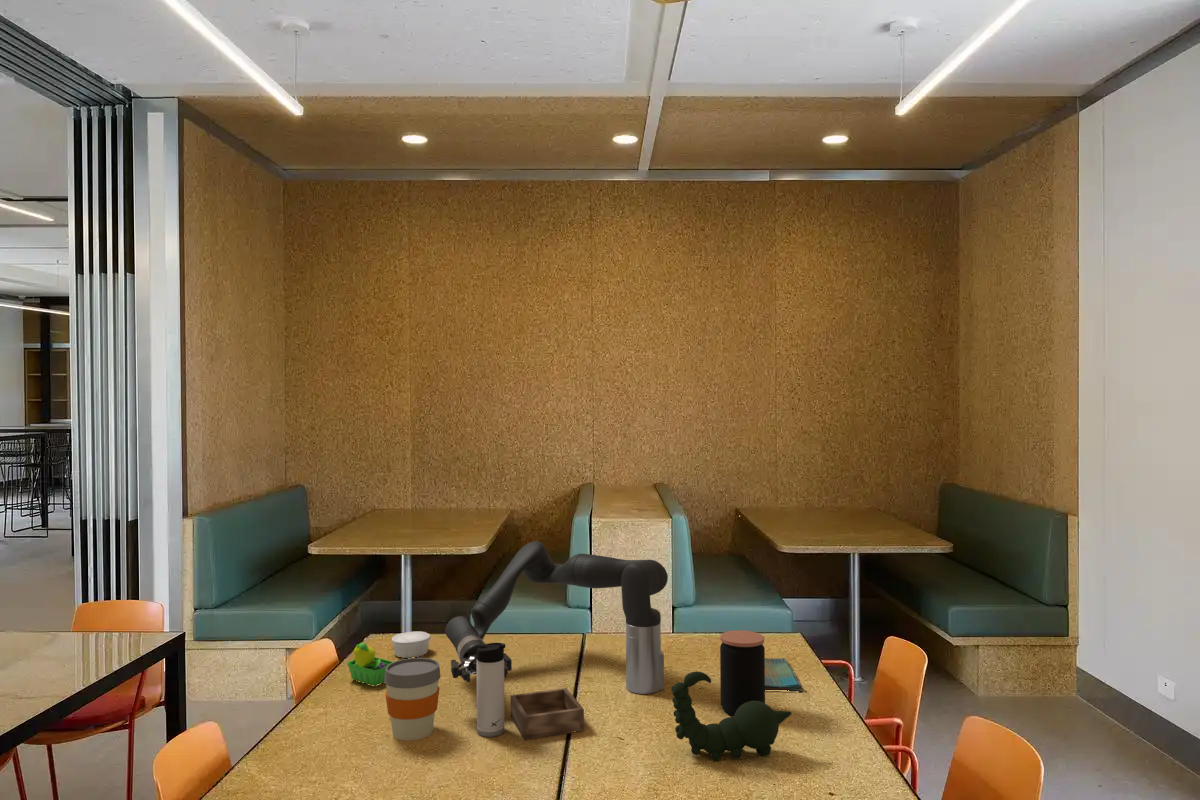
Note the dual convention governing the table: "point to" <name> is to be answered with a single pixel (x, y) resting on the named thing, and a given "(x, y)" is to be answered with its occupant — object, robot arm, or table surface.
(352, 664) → the fruit basket
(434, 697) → the reusable coffee cup
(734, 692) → the coffee jar
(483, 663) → the travel mug
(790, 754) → the table surface
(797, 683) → the dish towel
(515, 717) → the walnut crate
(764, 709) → the toy figurine
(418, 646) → the ramekin
